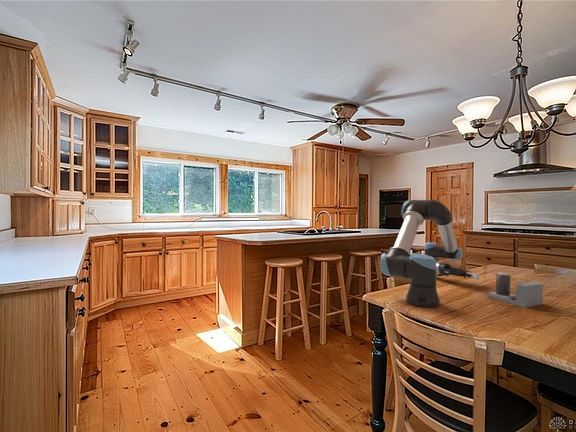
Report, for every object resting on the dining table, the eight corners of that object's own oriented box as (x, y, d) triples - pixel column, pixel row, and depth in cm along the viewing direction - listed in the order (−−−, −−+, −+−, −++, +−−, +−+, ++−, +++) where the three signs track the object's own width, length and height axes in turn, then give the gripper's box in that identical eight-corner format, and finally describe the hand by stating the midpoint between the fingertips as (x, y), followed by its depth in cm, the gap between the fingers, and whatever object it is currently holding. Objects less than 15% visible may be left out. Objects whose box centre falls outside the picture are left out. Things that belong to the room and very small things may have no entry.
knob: (505, 299, 148) (506, 275, 147) (489, 294, 155) (490, 272, 155) (516, 297, 150) (516, 274, 150) (500, 293, 158) (500, 271, 158)
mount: (524, 307, 137) (525, 286, 137) (486, 296, 154) (487, 277, 154) (542, 304, 142) (543, 283, 141) (503, 294, 158) (504, 275, 158)
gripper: (450, 273, 190) (485, 282, 168) (434, 275, 185) (469, 284, 163) (450, 262, 190) (486, 269, 168) (434, 263, 185) (469, 271, 163)
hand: (477, 277), depth 165 cm, fingers closed
